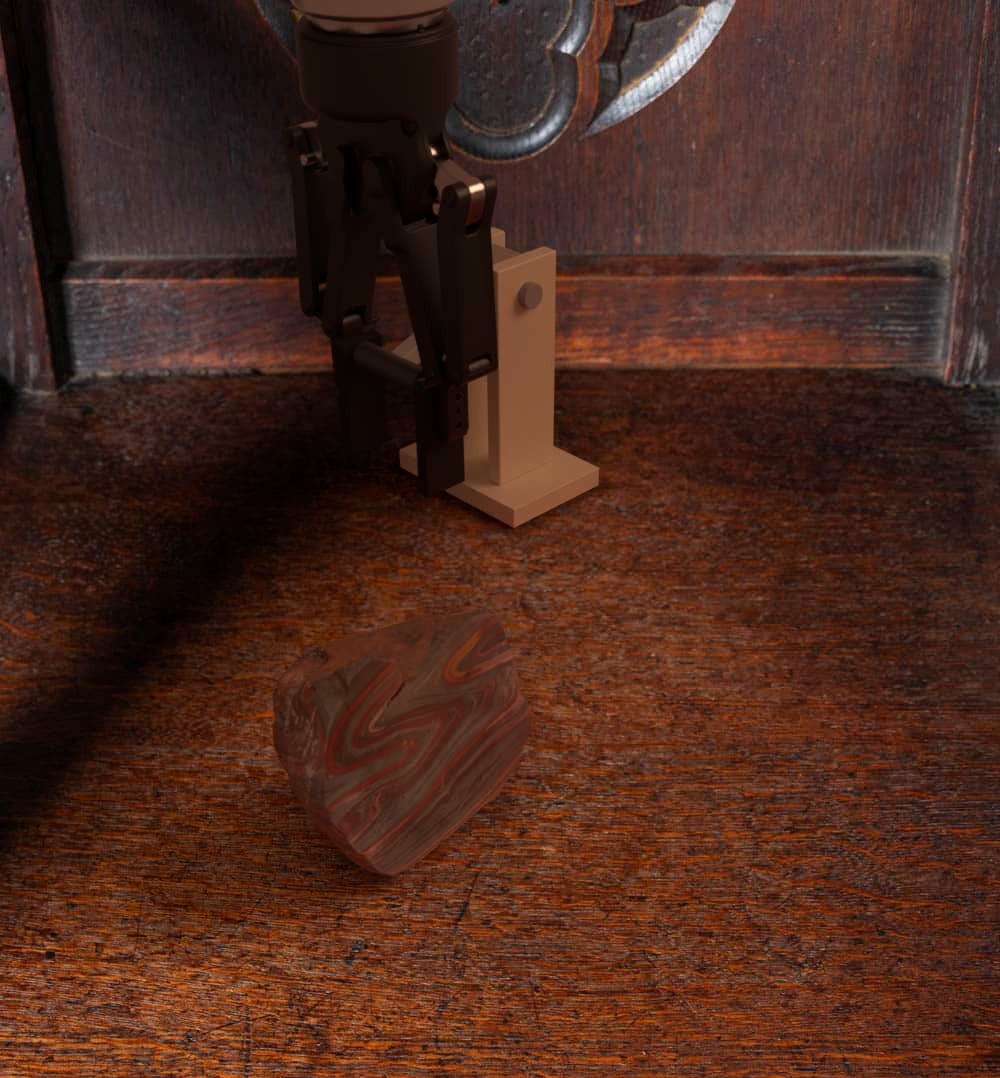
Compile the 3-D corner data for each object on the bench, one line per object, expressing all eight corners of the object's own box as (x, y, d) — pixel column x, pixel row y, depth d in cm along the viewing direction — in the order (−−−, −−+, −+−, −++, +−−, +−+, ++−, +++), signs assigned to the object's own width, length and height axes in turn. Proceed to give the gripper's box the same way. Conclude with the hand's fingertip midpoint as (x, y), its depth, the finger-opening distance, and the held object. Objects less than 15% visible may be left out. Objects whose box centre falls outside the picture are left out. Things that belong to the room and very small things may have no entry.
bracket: (513, 528, 82) (512, 292, 73) (400, 467, 87) (385, 241, 78) (598, 485, 85) (607, 255, 77) (484, 429, 91) (479, 209, 82)
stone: (360, 932, 58) (339, 739, 51) (213, 845, 62) (176, 657, 55) (543, 768, 65) (545, 584, 59) (402, 701, 69) (389, 521, 63)
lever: (420, 408, 76) (407, 373, 74) (360, 379, 78) (346, 344, 77) (549, 297, 79) (539, 260, 77) (487, 272, 81) (476, 236, 80)
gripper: (581, 33, 62) (570, 503, 77) (314, -33, 73) (349, 391, 88) (452, 67, 58) (467, 555, 73) (189, -8, 69) (249, 432, 84)
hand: (403, 465), depth 80 cm, fingers open, 6 cm apart
